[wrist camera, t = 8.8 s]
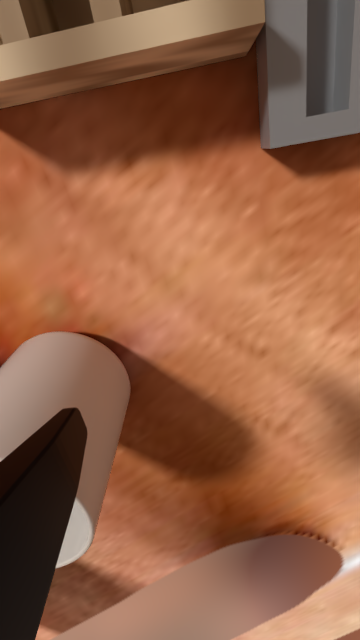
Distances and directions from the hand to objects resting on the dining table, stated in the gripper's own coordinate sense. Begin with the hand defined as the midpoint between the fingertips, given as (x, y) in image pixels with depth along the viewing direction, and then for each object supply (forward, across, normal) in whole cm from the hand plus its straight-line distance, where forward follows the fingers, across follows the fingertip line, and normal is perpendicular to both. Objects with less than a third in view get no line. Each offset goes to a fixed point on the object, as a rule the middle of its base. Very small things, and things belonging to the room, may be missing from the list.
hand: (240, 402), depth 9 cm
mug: (+13, +13, +7) cm, 20 cm away
